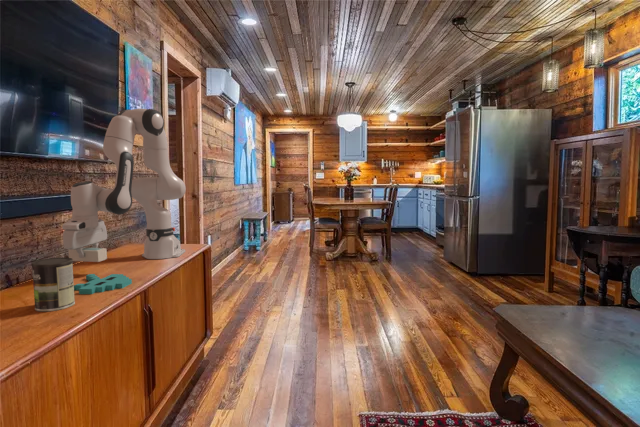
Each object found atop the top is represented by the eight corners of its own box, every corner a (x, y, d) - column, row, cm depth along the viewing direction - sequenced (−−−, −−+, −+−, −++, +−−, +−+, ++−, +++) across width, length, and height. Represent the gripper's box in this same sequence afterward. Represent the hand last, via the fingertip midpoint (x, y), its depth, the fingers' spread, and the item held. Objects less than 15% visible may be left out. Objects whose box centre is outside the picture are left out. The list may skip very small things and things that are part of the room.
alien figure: (53, 295, 130) (111, 295, 129) (52, 288, 129) (111, 289, 129) (89, 279, 149) (140, 279, 149) (89, 273, 149) (140, 274, 149)
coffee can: (38, 314, 110) (34, 266, 109) (32, 306, 117) (28, 260, 116) (79, 306, 117) (76, 260, 116) (71, 298, 125) (68, 255, 123)
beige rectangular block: (69, 260, 155) (68, 249, 154) (78, 257, 160) (77, 246, 159) (98, 261, 153) (97, 250, 152) (107, 258, 158) (106, 247, 157)
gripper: (96, 218, 165) (98, 249, 167) (58, 225, 145) (61, 261, 147) (110, 218, 164) (112, 250, 166) (73, 226, 144) (76, 262, 146)
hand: (88, 255), depth 156 cm, fingers closed on beige rectangular block, 5 cm apart
